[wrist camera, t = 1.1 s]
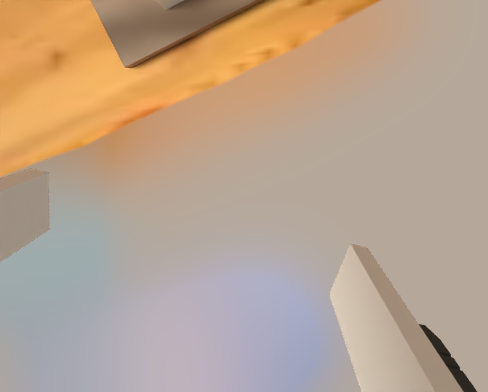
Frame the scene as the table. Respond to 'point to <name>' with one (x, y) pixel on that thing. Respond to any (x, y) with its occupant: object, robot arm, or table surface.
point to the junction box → (168, 3)
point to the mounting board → (160, 23)
